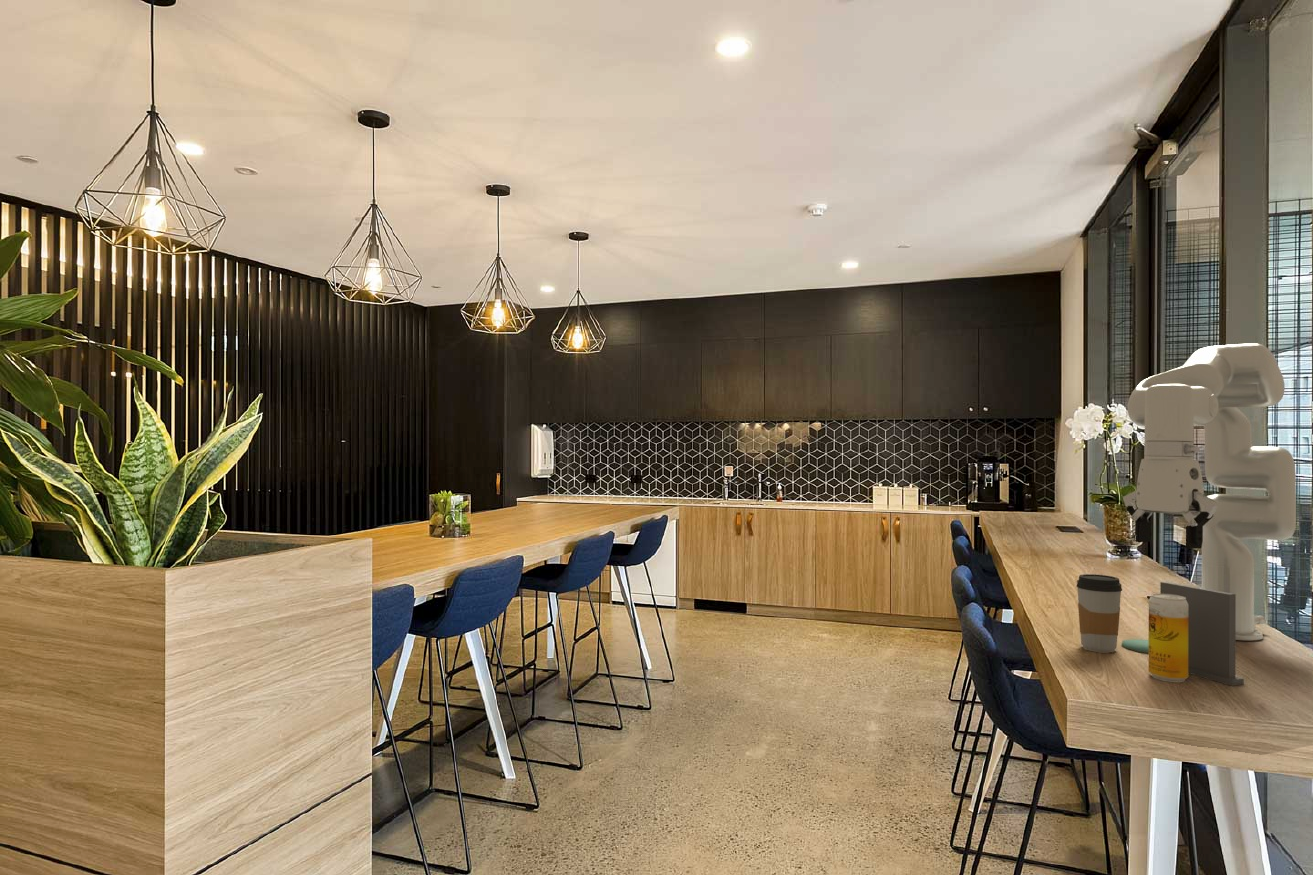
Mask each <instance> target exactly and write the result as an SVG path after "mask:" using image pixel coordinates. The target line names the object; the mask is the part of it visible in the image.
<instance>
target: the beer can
mask: <svg viewBox="0 0 1313 875" xmlns="http://www.w3.org/2000/svg"><path fill="white" fill-rule="evenodd" d="M1148 640H1149V654H1148V672H1149V673H1150V674H1151V677H1152V678H1154V679H1155V680H1159V681H1163V682H1169V683H1183V682H1186V679H1187V678H1189V673H1188V603H1187V601H1186V598H1185V597H1183V596H1179V595H1172V594H1160V593H1152V594H1151V595H1150V598H1149V599H1148Z"/></svg>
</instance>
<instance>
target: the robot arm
mask: <svg viewBox="0 0 1313 875" xmlns="http://www.w3.org/2000/svg"><path fill="white" fill-rule="evenodd" d="M1285 385H1286V384H1285V379H1284V376H1283V374H1282V371H1281V369H1280V367H1279V365H1278V361H1277V359H1276V357H1275V356H1274V355H1273V353H1272V351H1271V350H1270V349H1269V348H1268V347H1266V346H1265V345H1264V344H1261V343H1255V342H1254V343H1252V342H1251V343H1238V344H1237V343H1235V344H1225V345H1223V344H1222V345H1213V346H1212V345H1211V346H1206V347H1202V348H1199V349H1197V350H1196V351H1194V352H1193V353H1192V354H1191V355H1190V356H1189V357H1188V359H1187V360H1186V361H1185V362H1184V363H1183V365H1181V366H1179V367H1177V368H1173V369H1170V370H1168V371H1165V372H1161V373H1158V374H1155V375H1152V376H1149V377H1148V378H1145V379H1143V380H1142V381H1140V382H1139V383H1138V385H1137V386H1136V387H1135V388H1134V389H1133V390H1132V392H1131V394H1130V395H1129V398H1128V401H1127V402H1128V403H1127V414H1128V416H1129V419H1130V420H1131V421H1132V423H1134V424H1135V425H1137V426H1141V427H1144V443H1143V444H1144V446H1143V449H1144V451H1143V452H1144V453H1143V454H1144V456H1143V457H1144V458H1141V460H1140V464H1139V468H1138V475H1137V480H1136V481H1137V483H1136V490H1134V491H1132V492H1130V493H1127V494H1126V495H1124V496H1122V500H1123V503H1124V505H1125V507H1126V511H1127V512H1128V514H1129V515H1130V516H1131V520H1132V521H1134V536H1135V537H1134V540H1135V542H1136V543H1150V542H1151V537H1152V536H1151V533H1152V532H1151V531H1152V530H1151V529H1152V528H1151V527H1152V526H1151V525H1152V524H1151V520H1149V518H1150V517H1151V516H1152V515H1153V514H1154V513H1157V514H1171V515H1182V517H1183V518H1184V519H1185V520H1186V522H1187V523H1188V524H1189V525H1186V526H1185V547H1186V549H1189V550H1199V549H1201V588H1205V589H1210V590H1216V591H1221V592H1227V593H1232V594H1236V639H1235V641H1245V642H1246V641H1248V642H1249V641H1252V642H1253V641H1261V640H1262V639H1263V638H1264V636H1263V635H1264V634H1263V632H1262V631H1260V630H1258V629H1256V626H1257V625H1264V624H1265V623H1266V618H1265V617H1264V616H1263V615H1256V614H1255V605H1254V604H1255V583H1254V582H1255V559H1254V556H1253V553H1252V552H1251V551H1250V549H1249V548H1248V547H1247V546H1246V545H1245V544H1244V543H1243V542H1242V541H1241V540H1240V539H1255V540H1269V541H1270V540H1271V541H1285V540H1289V539H1291V538H1292V536H1293V535H1294V534H1295V531H1296V522H1297V498H1296V497H1297V494H1296V493H1297V490H1296V489H1297V487H1296V486H1297V484H1296V482H1297V481H1296V465H1295V464H1296V463H1295V461H1294V457H1293V455H1292V453H1291V452H1290V451H1289V450H1287V449H1285V448H1282V447H1279V446H1254V445H1253V443H1252V424H1251V422H1250V420H1249V419H1248V418H1247V416H1246V414H1245V413H1243V412H1242V411H1241V410H1240V409H1239V408H1264V407H1266V408H1267V407H1273V406H1275V405H1277V404H1279V403H1280V402H1281V401H1282V399H1283V397H1284V394H1285V390H1286V389H1285V387H1286V386H1285ZM1199 426H1200V427H1201V426H1203V429H1204V472H1205V479H1206V481H1207V482H1208V483H1209V484H1210V485H1212V486H1213V487H1217V488H1224V489H1237V490H1239V489H1240V490H1241V489H1242V490H1261V491H1265V492H1267V496H1266V495H1251V494H1250V495H1247V494H1234V493H1233V494H1232V493H1216V494H1210V495H1205V493H1204V481H1203V476H1202V469H1201V467H1200V463H1199V459H1194V455H1195V454H1197V453H1199V451H1200V447H1199V445H1194V444H1195V442H1194V432H1195V431H1194V429H1195V428H1194V427H1199Z"/></svg>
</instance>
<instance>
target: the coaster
mask: <svg viewBox="0 0 1313 875" xmlns="http://www.w3.org/2000/svg"><path fill="white" fill-rule="evenodd" d="M1121 646H1122V647H1123V648H1125V649H1126V650H1130V651H1134V652H1137V653H1142V654H1148V655H1149V639H1142V638H1141V639H1139V638H1133V639H1132V638H1131V639H1130V638H1129V639H1124V640H1122V641H1121Z"/></svg>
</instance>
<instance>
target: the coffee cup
mask: <svg viewBox="0 0 1313 875" xmlns="http://www.w3.org/2000/svg"><path fill="white" fill-rule="evenodd" d="M1076 580H1077V581H1076V588H1077V599H1078V600H1077V601H1078V603H1077V605H1078V610H1077V611H1078V620H1079V621H1078V622H1079V633H1080V642H1081V646H1082V648H1083V649H1084V650H1086V651H1090V652H1096V653H1101V652H1104V653H1105V654H1108V653H1109V652H1112V653H1114V652H1116V650H1117V648H1118V647H1117V646H1118V644H1117V643H1118V636H1119V627H1120V614H1121V597H1122V596H1121V594H1122V591H1123V588H1122V585H1123V584H1122V583H1120V582H1121V581H1120V578H1118V577H1117V576H1111V575H1106V574H1105V575H1104V574H1095V573H1092V574H1091V573H1090V574H1089V573H1088V574H1085V573H1084V574H1080V575H1079V576H1078V579H1076ZM1109 654H1110V653H1109Z"/></svg>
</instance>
